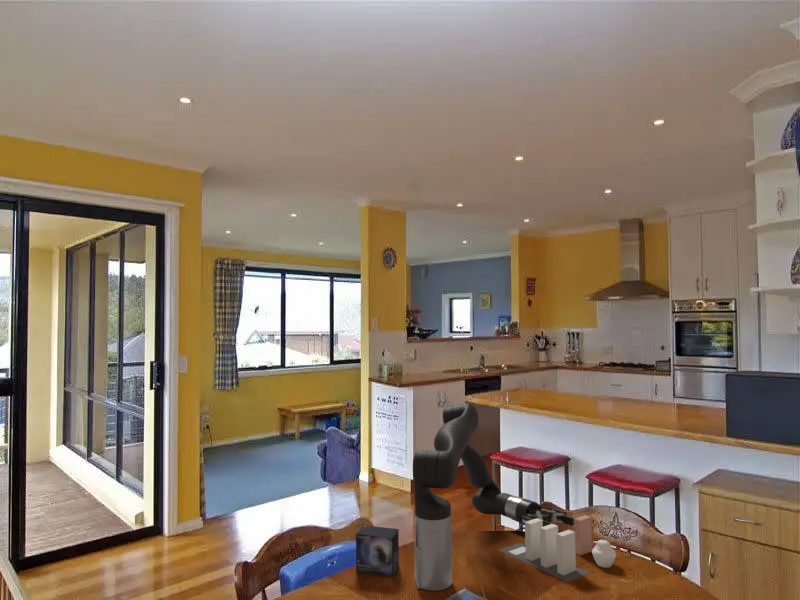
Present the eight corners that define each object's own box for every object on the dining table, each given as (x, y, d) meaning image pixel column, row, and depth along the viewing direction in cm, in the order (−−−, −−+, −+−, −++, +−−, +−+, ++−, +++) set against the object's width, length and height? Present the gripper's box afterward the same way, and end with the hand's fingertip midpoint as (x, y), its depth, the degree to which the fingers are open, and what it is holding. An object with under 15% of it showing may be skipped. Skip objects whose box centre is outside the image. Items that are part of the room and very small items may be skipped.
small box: (354, 573, 147) (354, 533, 148) (363, 562, 153) (363, 524, 154) (392, 577, 144) (392, 537, 145) (399, 567, 150) (399, 528, 151)
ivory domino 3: (557, 572, 145) (556, 533, 145) (569, 567, 148) (568, 529, 148) (563, 575, 143) (562, 536, 144) (575, 570, 146) (574, 531, 147)
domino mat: (498, 551, 160) (498, 549, 160) (520, 544, 165) (520, 542, 165) (567, 583, 140) (567, 581, 140) (590, 574, 145) (590, 572, 145)
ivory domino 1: (525, 558, 154) (524, 521, 154) (537, 554, 157) (537, 518, 157) (531, 560, 152) (530, 524, 153) (543, 556, 155) (542, 520, 156)
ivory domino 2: (540, 565, 149) (539, 527, 150) (553, 560, 152) (552, 523, 153) (546, 567, 148) (545, 529, 148) (558, 563, 151) (557, 525, 151)
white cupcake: (595, 559, 154) (595, 533, 154) (618, 564, 150) (618, 538, 151) (589, 567, 149) (588, 541, 149) (613, 573, 145) (612, 546, 145)
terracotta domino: (575, 554, 157) (574, 518, 158) (586, 550, 160) (585, 515, 160) (580, 556, 156) (579, 520, 156) (592, 552, 158) (591, 517, 159)
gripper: (506, 503, 173) (547, 517, 160) (537, 494, 181) (579, 507, 168) (507, 527, 172) (548, 544, 159) (538, 517, 181) (579, 532, 167)
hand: (564, 525), depth 163 cm, fingers open, 8 cm apart
